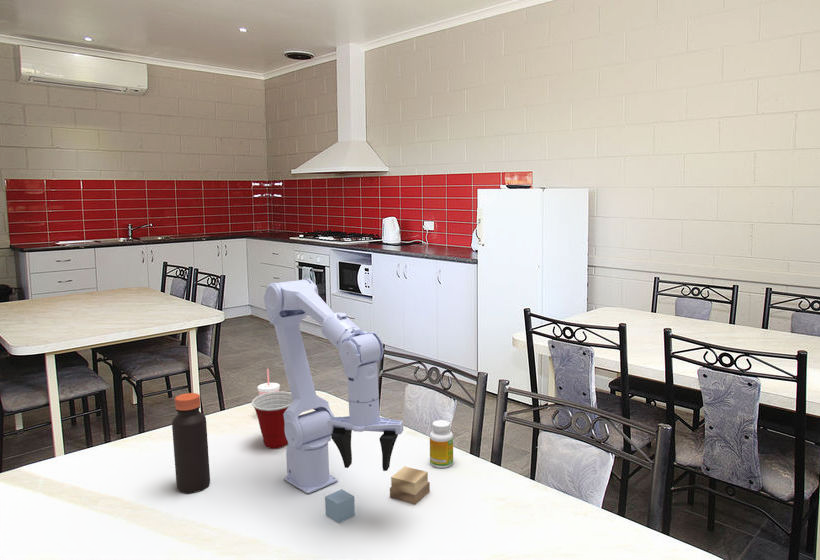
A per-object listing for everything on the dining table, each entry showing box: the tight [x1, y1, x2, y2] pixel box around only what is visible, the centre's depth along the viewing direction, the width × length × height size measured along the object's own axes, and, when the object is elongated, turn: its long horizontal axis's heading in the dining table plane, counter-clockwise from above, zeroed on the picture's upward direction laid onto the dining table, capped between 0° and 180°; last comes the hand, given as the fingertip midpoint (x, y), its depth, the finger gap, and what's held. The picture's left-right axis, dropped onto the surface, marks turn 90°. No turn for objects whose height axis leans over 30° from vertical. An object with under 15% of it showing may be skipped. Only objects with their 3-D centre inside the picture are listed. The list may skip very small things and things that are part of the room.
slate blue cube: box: [324, 488, 356, 524], centre depth 113 cm, size 4×4×4 cm
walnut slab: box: [389, 481, 431, 506], centre depth 121 cm, size 6×6×2 cm
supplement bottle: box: [429, 419, 454, 469], centre depth 134 cm, size 5×5×10 cm
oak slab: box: [390, 466, 429, 495], centre depth 120 cm, size 6×6×2 cm
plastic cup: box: [251, 390, 293, 449], centre depth 146 cm, size 11×11×12 cm
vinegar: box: [171, 392, 211, 494], centre depth 124 cm, size 7×7×20 cm
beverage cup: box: [256, 368, 281, 396], centre depth 165 cm, size 6×6×14 cm
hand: (367, 467), depth 111 cm, fingers open, 7 cm apart
